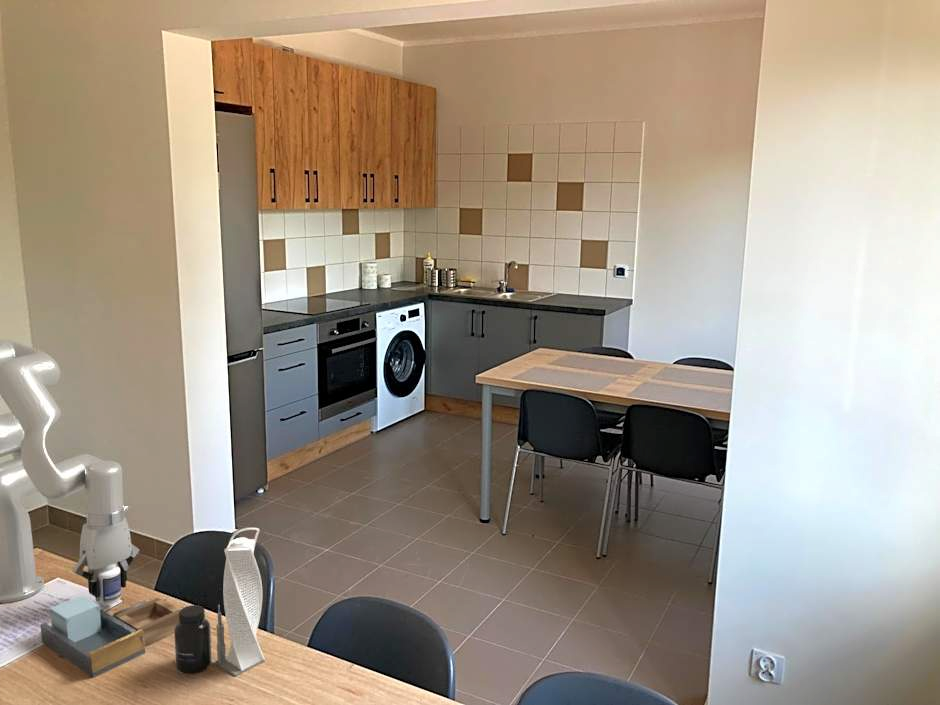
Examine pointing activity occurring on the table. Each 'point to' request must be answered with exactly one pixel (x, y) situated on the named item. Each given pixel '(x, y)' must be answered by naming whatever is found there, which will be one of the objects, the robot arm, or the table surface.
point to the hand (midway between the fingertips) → (108, 589)
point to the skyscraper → (240, 607)
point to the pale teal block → (76, 618)
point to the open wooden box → (151, 619)
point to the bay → (98, 645)
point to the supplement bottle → (192, 640)
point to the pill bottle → (109, 584)
